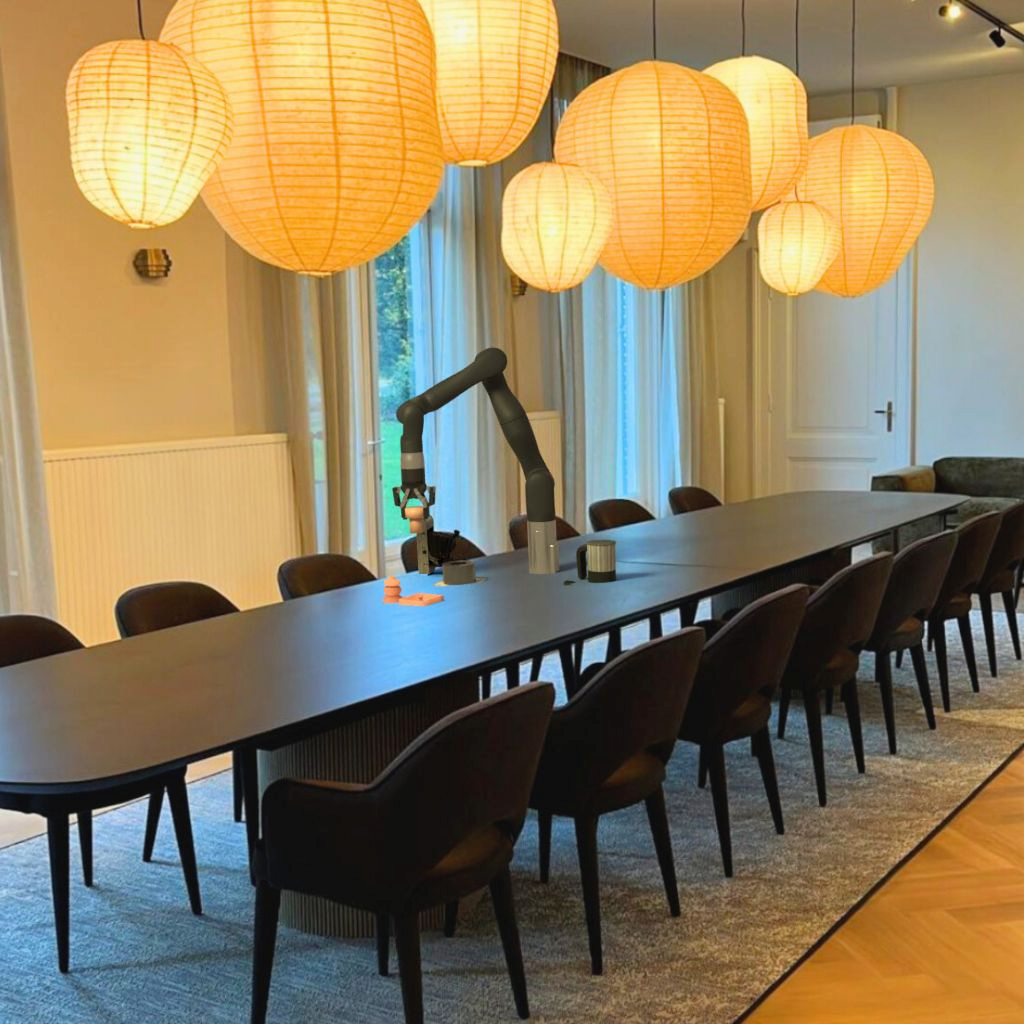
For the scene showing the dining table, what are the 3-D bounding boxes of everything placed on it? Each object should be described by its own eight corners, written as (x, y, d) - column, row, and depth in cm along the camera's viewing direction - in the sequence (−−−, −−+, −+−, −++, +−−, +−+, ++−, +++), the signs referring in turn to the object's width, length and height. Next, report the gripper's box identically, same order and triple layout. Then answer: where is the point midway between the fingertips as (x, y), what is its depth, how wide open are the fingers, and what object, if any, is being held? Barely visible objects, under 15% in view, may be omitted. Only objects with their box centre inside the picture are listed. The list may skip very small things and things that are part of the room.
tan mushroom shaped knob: (429, 530, 418) (427, 505, 417) (422, 534, 412) (421, 508, 411) (410, 531, 420) (408, 506, 418) (403, 534, 413) (401, 508, 412)
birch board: (487, 582, 419) (487, 578, 419) (474, 591, 405) (474, 586, 405) (445, 582, 423) (445, 577, 422) (431, 590, 409) (431, 586, 409)
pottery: (444, 609, 382) (442, 576, 380) (425, 616, 374) (423, 581, 373) (394, 604, 391) (392, 572, 390) (374, 611, 383) (373, 577, 382)
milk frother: (622, 587, 403) (620, 539, 401) (603, 597, 389) (601, 547, 387) (579, 585, 409) (577, 538, 407) (559, 595, 395) (557, 546, 393)
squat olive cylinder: (479, 579, 417) (478, 560, 416) (469, 585, 408) (469, 566, 407) (449, 578, 420) (448, 560, 419) (439, 584, 411) (438, 565, 410)
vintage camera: (463, 577, 430) (460, 517, 428) (418, 577, 433) (415, 517, 431) (470, 572, 440) (467, 513, 437) (425, 572, 443) (422, 513, 440)
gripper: (438, 465, 414) (441, 517, 417) (395, 465, 418) (398, 517, 421) (430, 467, 407) (433, 521, 409) (386, 468, 411) (389, 521, 414)
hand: (415, 519), depth 415 cm, fingers closed on tan mushroom shaped knob, 6 cm apart
